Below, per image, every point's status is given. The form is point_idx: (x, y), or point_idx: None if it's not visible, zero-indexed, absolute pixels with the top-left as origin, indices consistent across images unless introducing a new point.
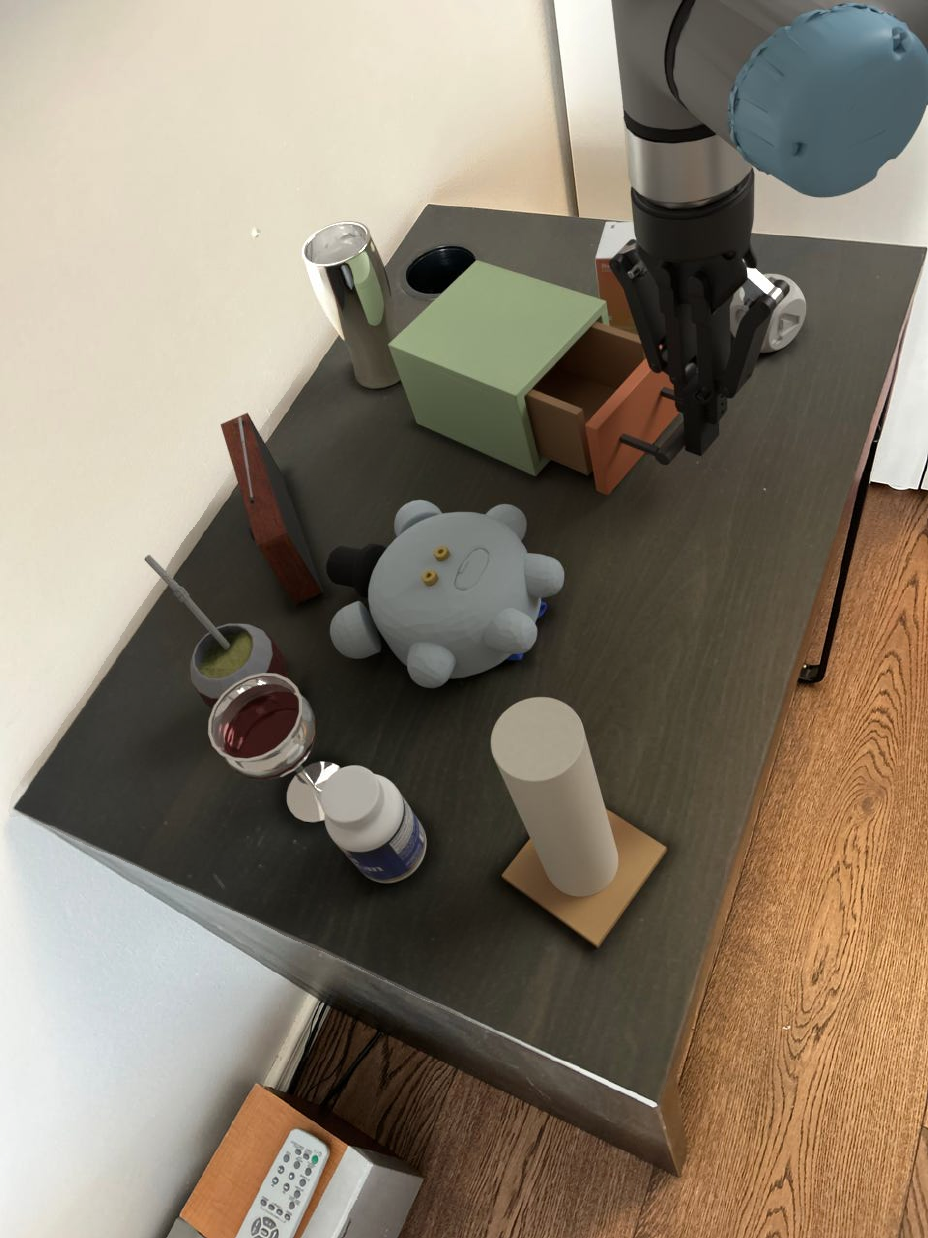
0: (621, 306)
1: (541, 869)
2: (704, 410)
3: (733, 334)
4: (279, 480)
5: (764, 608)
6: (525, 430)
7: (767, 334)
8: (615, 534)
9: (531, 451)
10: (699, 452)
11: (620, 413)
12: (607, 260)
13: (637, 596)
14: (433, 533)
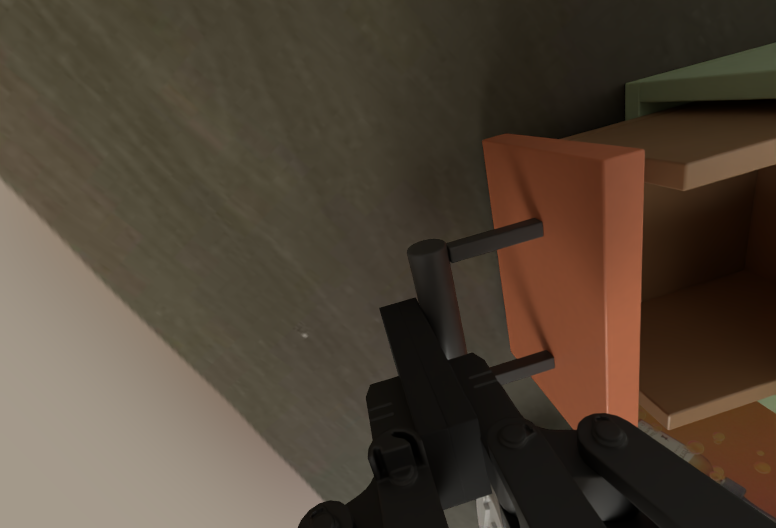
0: (732, 422)
1: None
2: (405, 400)
3: None
4: None
5: (79, 170)
6: (748, 75)
7: (498, 510)
8: (411, 93)
9: (680, 84)
10: (383, 312)
11: (583, 256)
12: None
13: (258, 6)
14: None
